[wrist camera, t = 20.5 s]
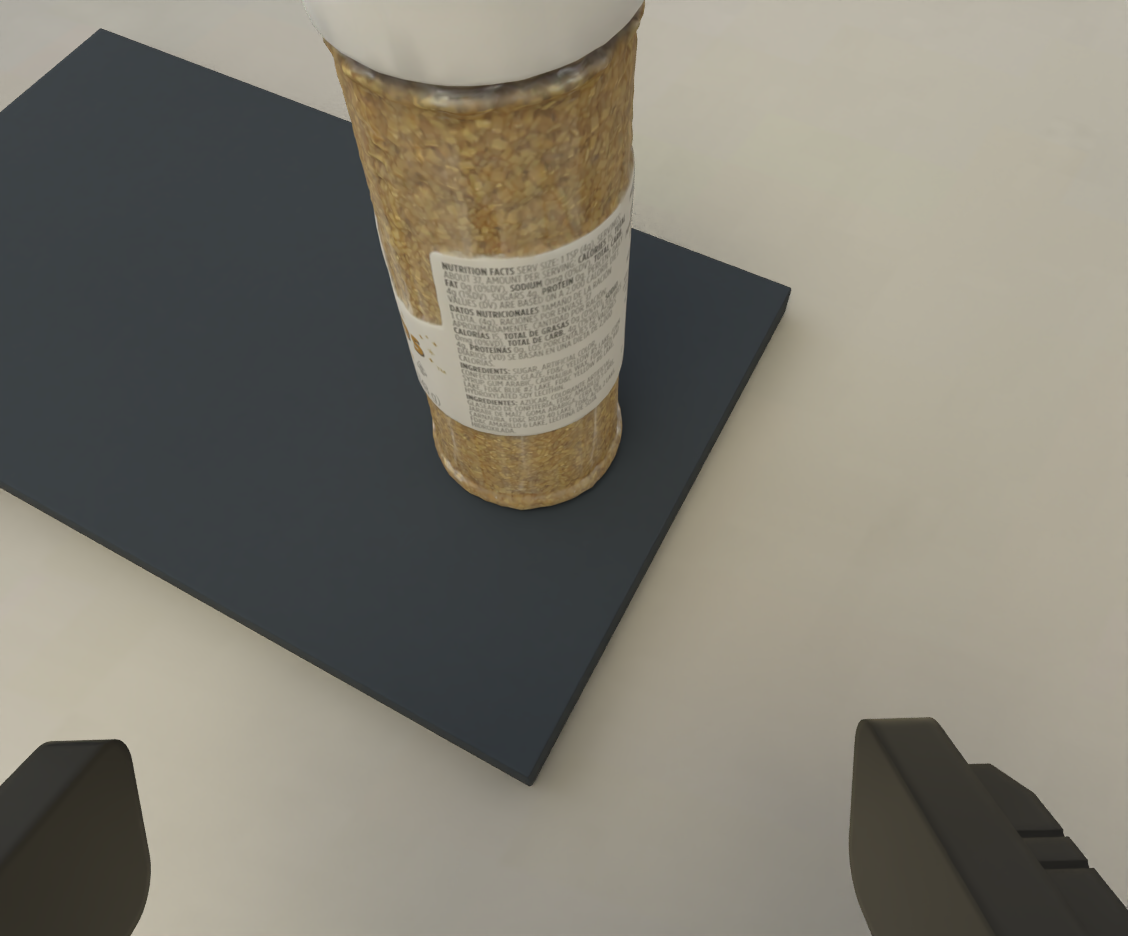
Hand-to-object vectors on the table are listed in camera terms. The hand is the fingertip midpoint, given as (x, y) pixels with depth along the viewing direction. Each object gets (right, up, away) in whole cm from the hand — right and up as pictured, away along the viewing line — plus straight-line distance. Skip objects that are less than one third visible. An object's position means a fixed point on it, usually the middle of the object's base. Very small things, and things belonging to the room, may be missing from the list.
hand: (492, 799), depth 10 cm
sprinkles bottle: (0, +4, +12) cm, 13 cm away
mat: (-7, +7, +15) cm, 18 cm away
